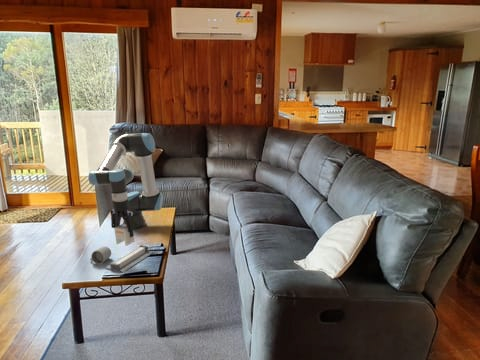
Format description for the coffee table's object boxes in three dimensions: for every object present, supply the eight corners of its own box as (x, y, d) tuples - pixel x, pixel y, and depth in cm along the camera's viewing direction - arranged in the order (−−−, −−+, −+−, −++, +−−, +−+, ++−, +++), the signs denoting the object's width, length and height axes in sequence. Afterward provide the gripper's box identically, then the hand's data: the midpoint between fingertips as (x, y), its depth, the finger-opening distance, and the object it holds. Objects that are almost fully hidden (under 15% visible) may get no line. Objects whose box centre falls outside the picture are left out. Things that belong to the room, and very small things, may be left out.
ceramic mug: (113, 257, 192) (111, 245, 190) (104, 264, 184) (102, 251, 182) (96, 257, 194) (94, 244, 192) (87, 263, 186) (84, 250, 185)
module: (124, 239, 188) (122, 222, 185) (134, 241, 185) (132, 224, 182) (116, 244, 182) (113, 226, 180) (126, 245, 179) (124, 228, 177)
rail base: (136, 249, 201) (136, 244, 200) (153, 252, 196) (152, 247, 195) (105, 268, 180) (104, 262, 179) (123, 272, 175) (122, 266, 174)
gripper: (100, 200, 179) (105, 241, 184) (130, 203, 171) (135, 246, 176) (110, 196, 185) (116, 236, 191) (140, 199, 177) (145, 241, 183)
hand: (125, 241), depth 183 cm, fingers closed on module, 7 cm apart
